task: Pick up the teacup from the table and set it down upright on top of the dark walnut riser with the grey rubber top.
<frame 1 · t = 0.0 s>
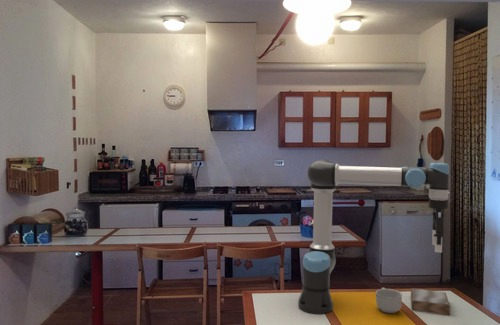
hand: (436, 248, 176), 28 cm above the table, tool pointing down, fingers open, 13 cm apart
walnut riser: (429, 305, 185), on the table
teacup: (387, 309, 180), on the table
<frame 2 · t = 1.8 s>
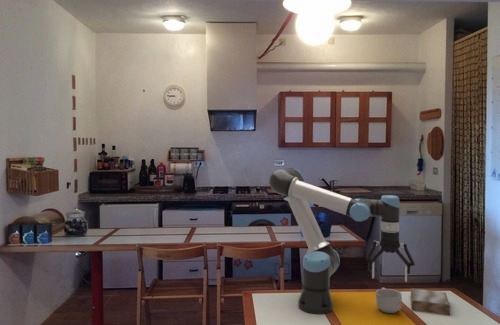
hand: (389, 279, 180), 13 cm above the table, tool pointing down, fingers open, 13 cm apart
nothing on the table moved.
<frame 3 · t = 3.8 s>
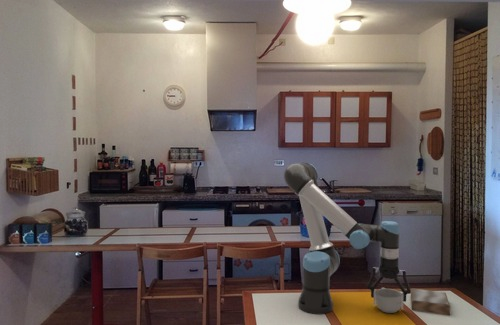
hand: (388, 306, 180), 1 cm above the table, tool pointing down, fingers closed on teacup, 11 cm apart
teacup: (387, 309, 180), on the table, touching gripper
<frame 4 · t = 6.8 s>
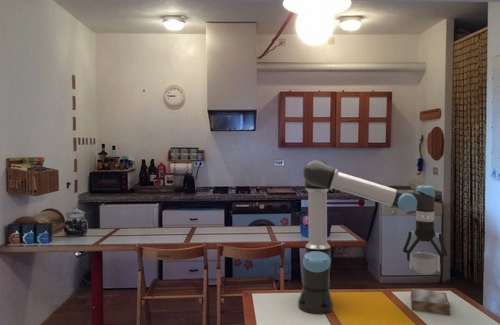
hand: (424, 269, 183), 17 cm above the table, tool pointing down, fingers closed on teacup, 11 cm apart
teacup: (423, 272, 184), point 15 cm above the table, touching gripper
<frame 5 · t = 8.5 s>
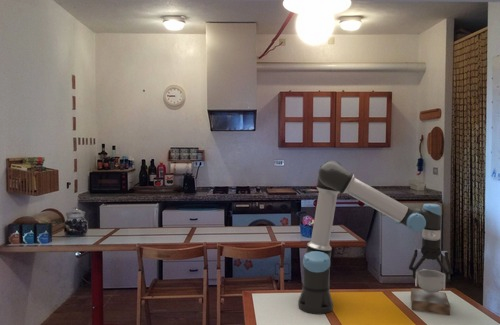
hand: (429, 287, 185), 8 cm above the table, tool pointing down, fingers closed on teacup, 11 cm apart
teacup: (429, 289, 185), point 7 cm above the table, touching gripper
when the fingers open (7 cm above the table, at t = 9.8 s): teacup drops 2 cm, resting on walnut riser.
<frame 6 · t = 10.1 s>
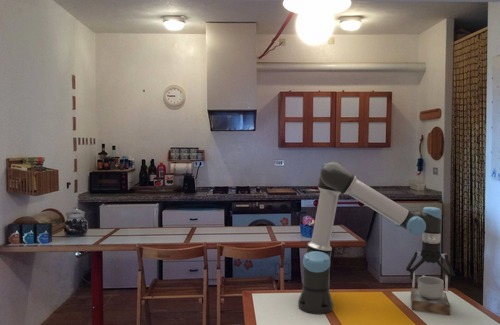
hand: (429, 288, 185), 8 cm above the table, tool pointing down, fingers open, 13 cm apart
teacup: (429, 296, 185), point 4 cm above the table, touching walnut riser
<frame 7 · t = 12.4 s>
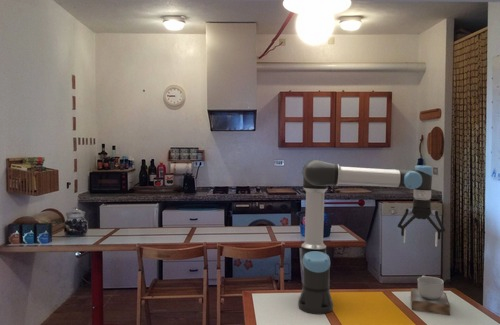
hand: (420, 244, 191), 26 cm above the table, tool pointing down, fingers open, 13 cm apart
nothing on the table moved.
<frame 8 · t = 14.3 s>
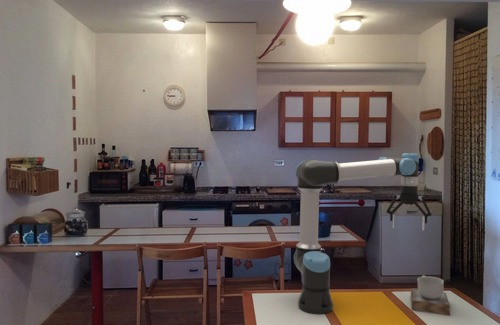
hand: (408, 228, 199), 32 cm above the table, tool pointing down, fingers open, 13 cm apart
nothing on the table moved.
at the end: teacup inside the target area on the walnut riser (0.2 cm from its centre), point 4.1 cm above the walnut riser's base; teacup tilted 0°; the gripper is holding nothing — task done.
